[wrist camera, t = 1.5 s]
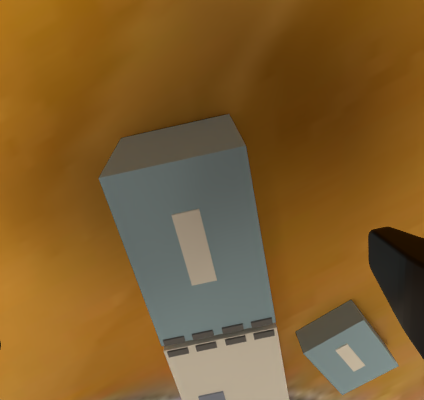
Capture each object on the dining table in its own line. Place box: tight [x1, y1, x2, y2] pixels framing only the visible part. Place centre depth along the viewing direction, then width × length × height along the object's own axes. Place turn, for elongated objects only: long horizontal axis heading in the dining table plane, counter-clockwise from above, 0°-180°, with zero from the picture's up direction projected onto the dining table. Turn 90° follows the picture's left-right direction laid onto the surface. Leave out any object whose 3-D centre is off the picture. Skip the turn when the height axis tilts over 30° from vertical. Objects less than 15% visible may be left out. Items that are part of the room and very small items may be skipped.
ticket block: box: [164, 323, 289, 400], centre depth 20 cm, size 11×5×5 cm, turn 12°
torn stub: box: [296, 300, 399, 395], centre depth 23 cm, size 5×4×2 cm
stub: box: [99, 114, 276, 346], centre depth 16 cm, size 8×5×5 cm, turn 12°
